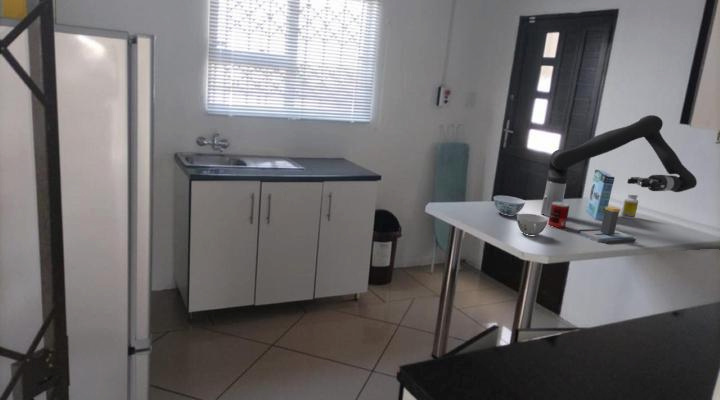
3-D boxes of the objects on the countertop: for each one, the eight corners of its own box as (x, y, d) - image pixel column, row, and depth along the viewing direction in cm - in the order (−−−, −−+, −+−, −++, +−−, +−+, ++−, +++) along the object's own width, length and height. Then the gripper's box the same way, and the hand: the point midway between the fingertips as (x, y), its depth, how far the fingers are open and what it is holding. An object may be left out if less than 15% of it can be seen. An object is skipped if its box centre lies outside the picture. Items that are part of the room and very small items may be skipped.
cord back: (606, 231, 243) (607, 228, 243) (608, 232, 242) (609, 229, 242) (578, 232, 236) (578, 229, 235) (580, 233, 234) (581, 230, 234)
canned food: (564, 225, 246) (569, 203, 243) (565, 229, 238) (570, 206, 236) (547, 222, 248) (552, 200, 245) (547, 226, 241) (552, 203, 238)
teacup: (512, 228, 231) (515, 211, 229) (541, 232, 230) (544, 215, 228) (517, 238, 217) (520, 220, 215) (548, 242, 215) (551, 224, 213)
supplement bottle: (636, 220, 273) (641, 196, 269) (622, 218, 274) (628, 194, 271) (632, 216, 279) (637, 193, 276) (619, 215, 280) (624, 192, 277)
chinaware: (485, 212, 256) (487, 197, 254) (502, 209, 266) (504, 194, 264) (511, 220, 246) (514, 204, 244) (528, 216, 256) (531, 201, 254)
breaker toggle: (606, 231, 235) (612, 206, 232) (614, 234, 231) (620, 209, 228) (600, 231, 233) (605, 206, 230) (607, 234, 229) (613, 209, 227)
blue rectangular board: (614, 232, 242) (614, 229, 241) (632, 239, 233) (633, 236, 232) (579, 234, 232) (580, 231, 232) (597, 241, 224) (598, 238, 223)
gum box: (585, 210, 282) (594, 169, 277) (595, 212, 282) (604, 170, 276) (594, 219, 264) (604, 175, 258) (605, 221, 263) (615, 177, 258)
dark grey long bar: (632, 241, 231) (633, 238, 230) (635, 242, 230) (635, 239, 229) (603, 242, 223) (604, 239, 223) (606, 243, 222) (606, 240, 222)
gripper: (648, 171, 243) (623, 171, 237) (676, 178, 231) (651, 178, 224) (644, 187, 245) (619, 187, 238) (672, 194, 233) (647, 195, 226)
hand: (635, 182), depth 231 cm, fingers open, 6 cm apart
